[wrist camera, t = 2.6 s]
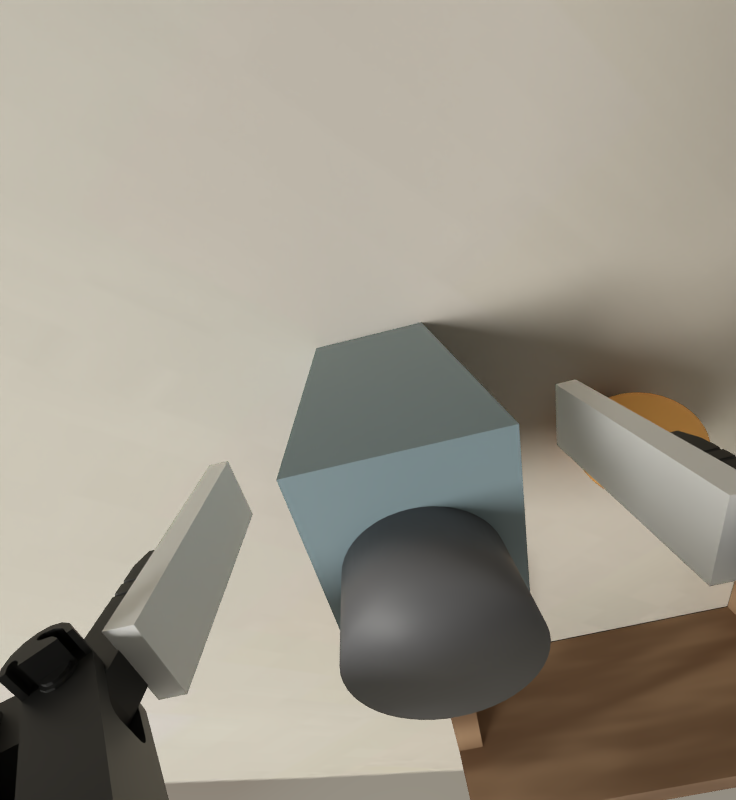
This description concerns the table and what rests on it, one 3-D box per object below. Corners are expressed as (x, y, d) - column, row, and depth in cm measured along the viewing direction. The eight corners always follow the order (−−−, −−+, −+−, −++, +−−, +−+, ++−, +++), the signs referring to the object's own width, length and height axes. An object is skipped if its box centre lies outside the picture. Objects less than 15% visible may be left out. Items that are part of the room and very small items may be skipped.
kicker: (316, 348, 16) (252, 560, 5) (421, 322, 16) (580, 487, 5) (353, 469, 19) (361, 770, 8) (443, 448, 19) (575, 729, 8)
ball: (553, 389, 18) (624, 439, 13) (652, 366, 18) (760, 409, 13) (554, 469, 20) (617, 536, 15) (644, 449, 20) (734, 511, 15)
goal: (415, 564, 22) (448, 720, 15) (786, 484, 21) (1018, 610, 14) (443, 675, 27) (478, 833, 20) (744, 615, 26) (897, 758, 19)
